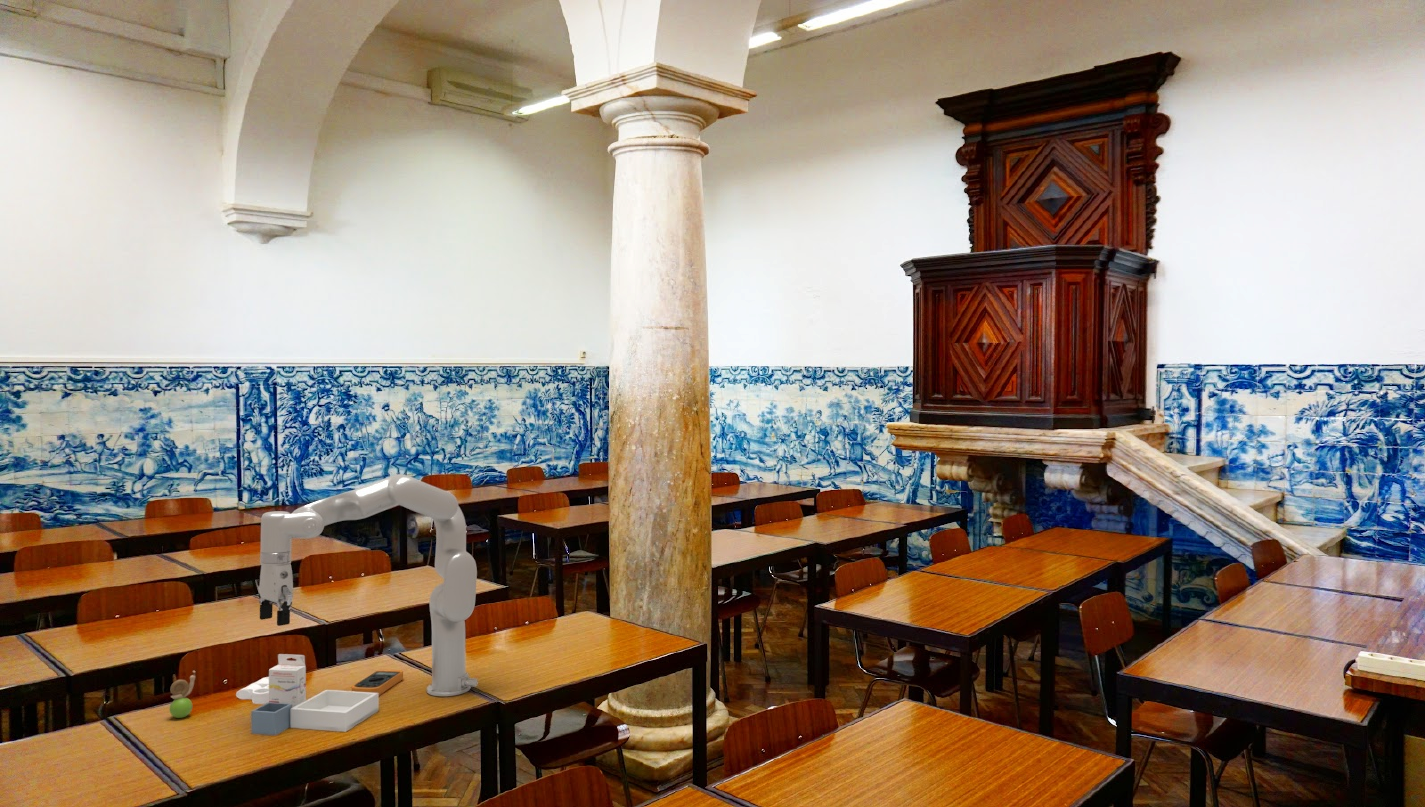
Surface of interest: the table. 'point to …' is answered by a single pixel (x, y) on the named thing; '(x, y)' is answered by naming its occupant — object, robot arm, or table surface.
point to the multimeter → (379, 681)
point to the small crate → (271, 718)
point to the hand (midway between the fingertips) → (274, 621)
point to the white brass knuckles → (256, 691)
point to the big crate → (334, 710)
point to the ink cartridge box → (288, 680)
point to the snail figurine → (181, 697)
